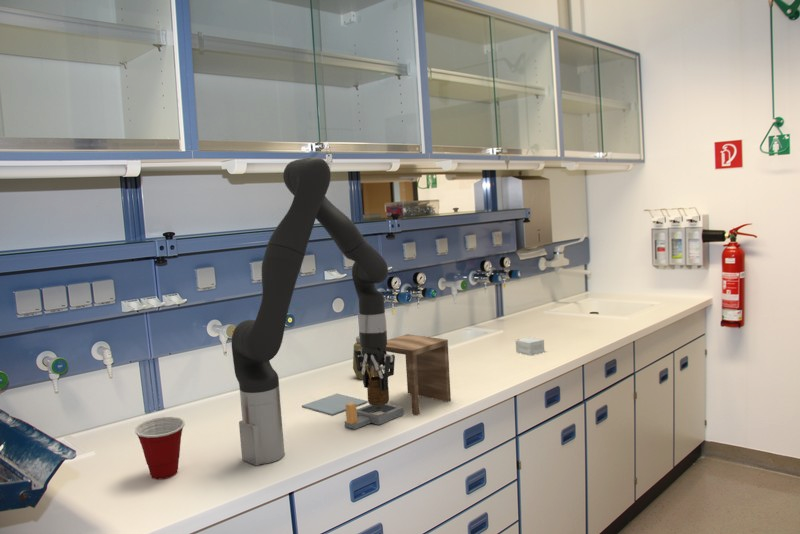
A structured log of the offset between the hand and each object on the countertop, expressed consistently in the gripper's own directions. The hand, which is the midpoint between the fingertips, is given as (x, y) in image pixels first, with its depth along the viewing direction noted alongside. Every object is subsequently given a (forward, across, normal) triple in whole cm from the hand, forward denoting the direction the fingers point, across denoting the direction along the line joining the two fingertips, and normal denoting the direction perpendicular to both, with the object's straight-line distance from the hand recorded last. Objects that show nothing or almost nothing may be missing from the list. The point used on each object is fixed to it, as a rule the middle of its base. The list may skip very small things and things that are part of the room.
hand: (375, 388), depth 173 cm
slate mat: (+8, -19, +1) cm, 21 cm away
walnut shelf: (+8, 0, +15) cm, 17 cm away
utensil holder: (+4, 0, +1) cm, 4 cm away
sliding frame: (+8, 0, -2) cm, 8 cm away
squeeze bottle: (+8, -33, +27) cm, 43 cm away
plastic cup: (+9, -14, -55) cm, 58 cm away
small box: (+7, -3, +85) cm, 86 cm away
